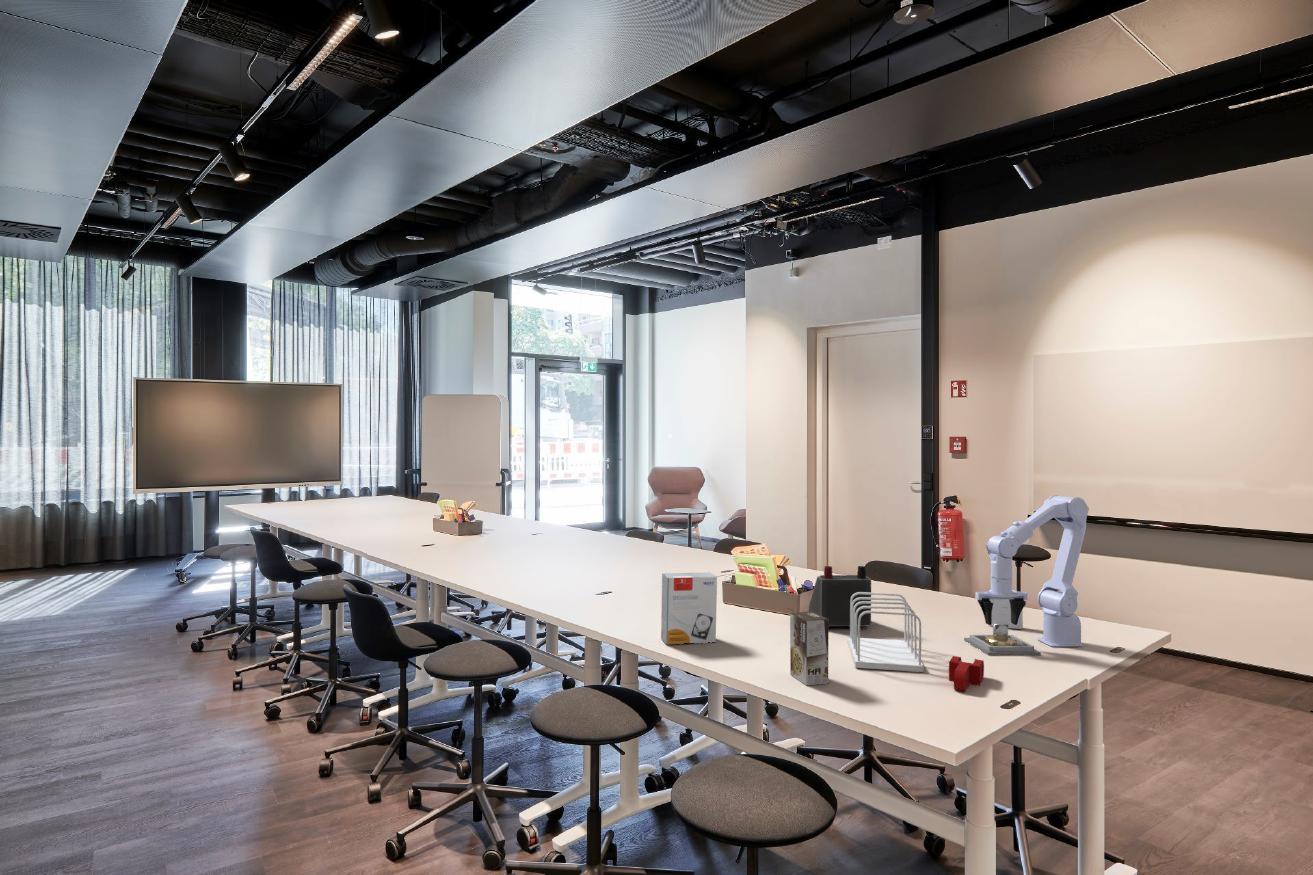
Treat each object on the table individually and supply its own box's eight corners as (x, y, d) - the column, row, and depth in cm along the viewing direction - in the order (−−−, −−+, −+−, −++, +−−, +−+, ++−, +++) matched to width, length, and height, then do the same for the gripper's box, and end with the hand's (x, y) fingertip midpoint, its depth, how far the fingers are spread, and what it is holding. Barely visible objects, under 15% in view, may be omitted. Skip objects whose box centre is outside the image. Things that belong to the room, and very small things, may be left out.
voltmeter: (855, 617, 247) (855, 558, 247) (871, 630, 231) (871, 567, 231) (808, 617, 247) (808, 558, 247) (820, 630, 230) (821, 567, 231)
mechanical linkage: (954, 672, 190) (954, 653, 190) (983, 677, 186) (984, 658, 186) (943, 690, 176) (943, 670, 176) (975, 696, 172) (975, 675, 172)
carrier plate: (1013, 640, 220) (1013, 633, 220) (1040, 655, 205) (1040, 647, 205) (964, 640, 219) (964, 633, 219) (988, 655, 204) (988, 648, 204)
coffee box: (829, 683, 180) (829, 618, 180) (806, 686, 178) (806, 620, 178) (811, 672, 189) (811, 610, 189) (789, 674, 187) (789, 611, 187)
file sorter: (924, 673, 189) (924, 613, 189) (855, 669, 192) (855, 610, 192) (908, 646, 213) (908, 593, 213) (847, 643, 216) (847, 590, 216)
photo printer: (987, 626, 236) (987, 588, 236) (987, 623, 240) (987, 586, 240) (1022, 630, 231) (1022, 591, 231) (1022, 627, 235) (1022, 589, 235)
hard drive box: (666, 645, 212) (666, 577, 212) (660, 638, 220) (660, 572, 220) (717, 642, 215) (717, 575, 215) (709, 636, 223) (710, 571, 223)
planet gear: (1007, 640, 217) (1007, 620, 217) (1023, 648, 208) (1023, 627, 208) (978, 640, 217) (978, 620, 217) (992, 648, 208) (993, 627, 208)
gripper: (1018, 574, 216) (1018, 620, 216) (970, 575, 216) (970, 620, 216) (1031, 579, 209) (1031, 626, 209) (981, 579, 209) (981, 626, 209)
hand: (1001, 624), depth 212 cm, fingers open, 7 cm apart
